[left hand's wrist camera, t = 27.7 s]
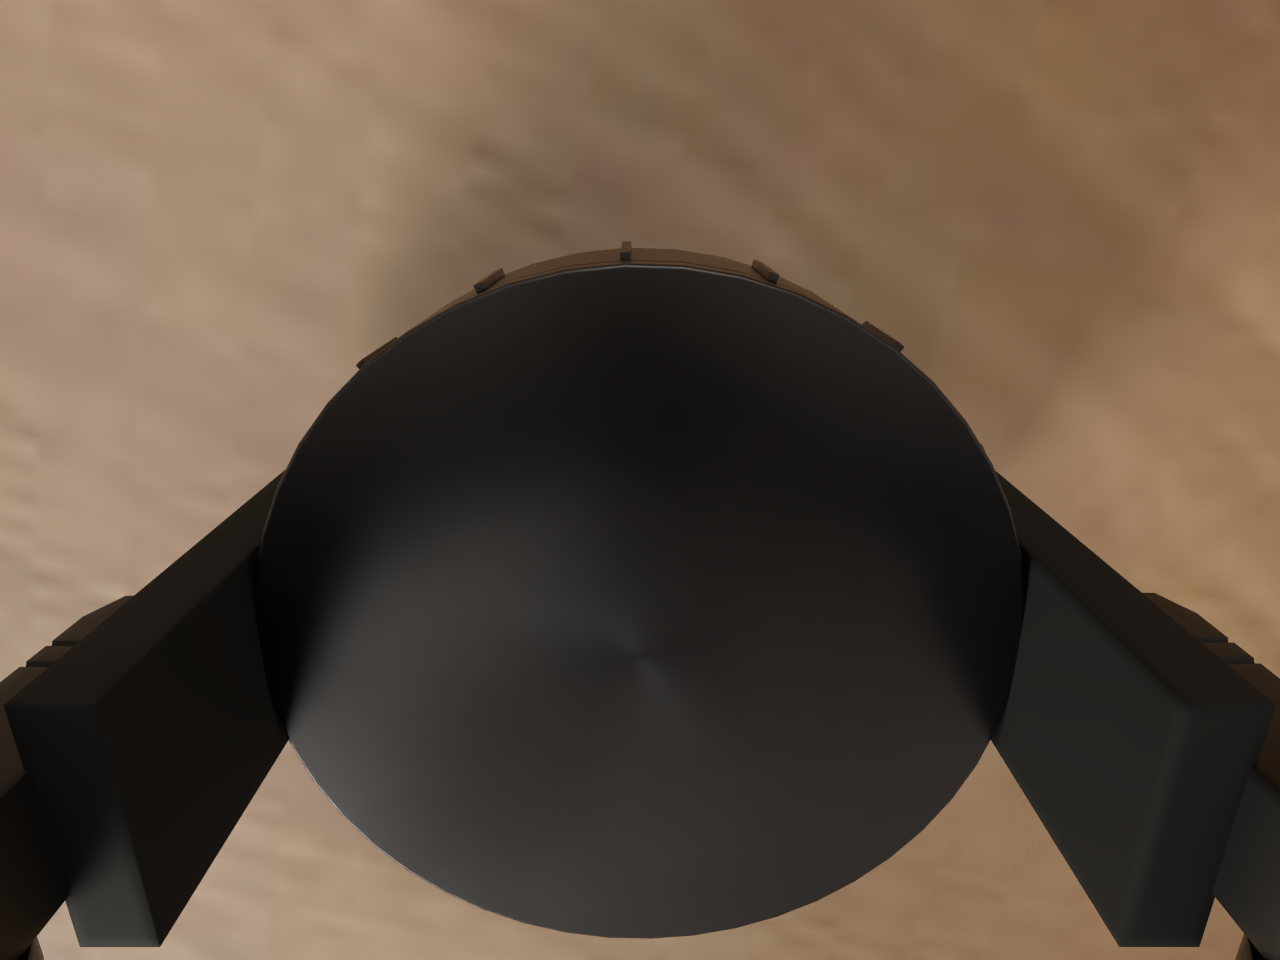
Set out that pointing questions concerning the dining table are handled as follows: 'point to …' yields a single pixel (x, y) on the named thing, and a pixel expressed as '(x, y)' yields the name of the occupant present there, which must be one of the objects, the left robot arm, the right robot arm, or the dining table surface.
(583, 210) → the dining table surface
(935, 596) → the lid
